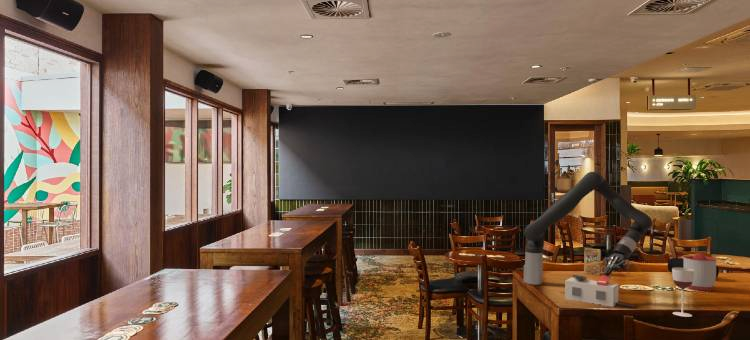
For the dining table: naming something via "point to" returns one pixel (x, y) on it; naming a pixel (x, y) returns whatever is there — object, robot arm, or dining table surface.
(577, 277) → the black rocker
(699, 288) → the citrus juicer
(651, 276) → the dining table surface
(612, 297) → the switch box
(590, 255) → the candy box
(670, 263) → the portable speaker
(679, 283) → the wineglass
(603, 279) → the red rocker
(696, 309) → the dining table surface
